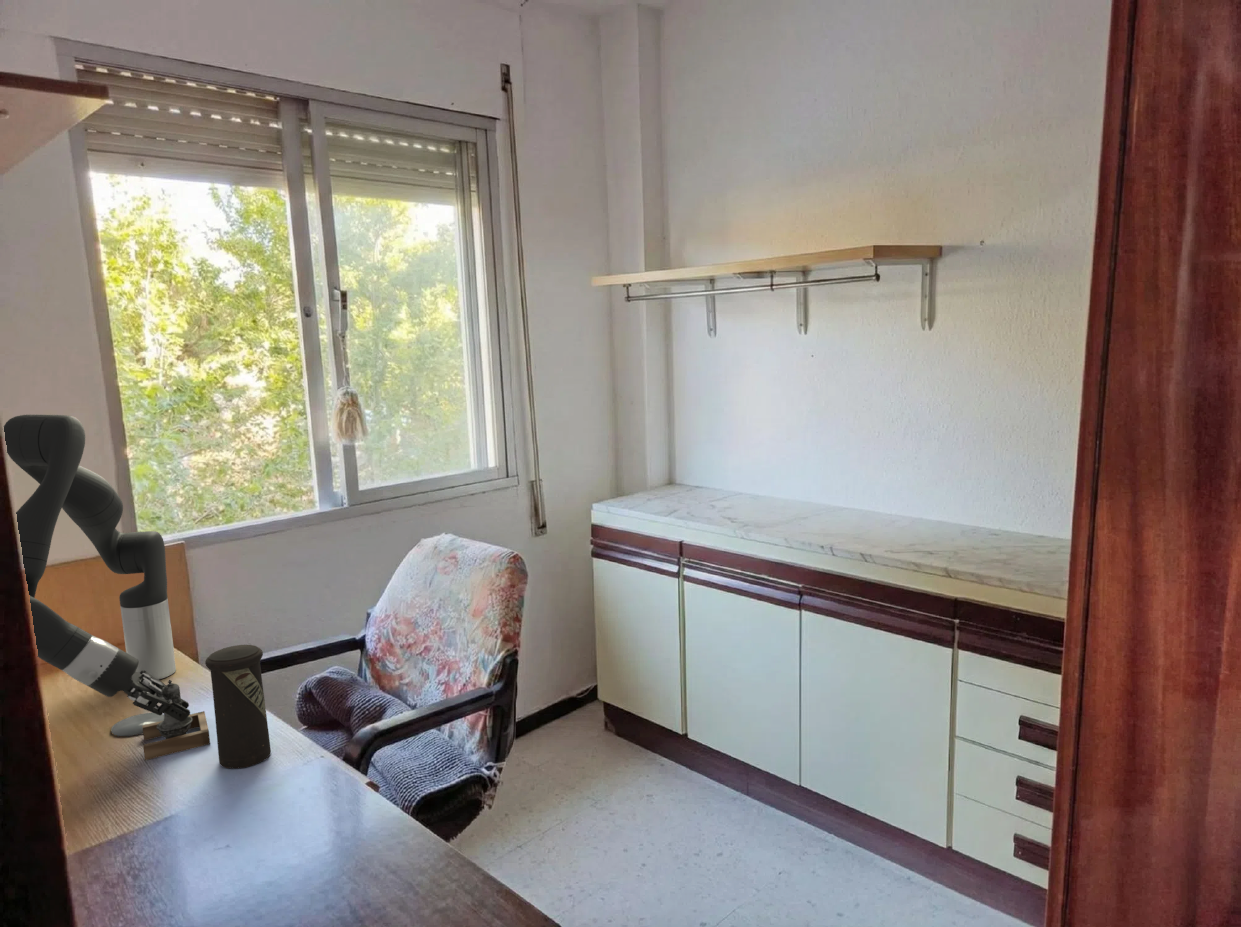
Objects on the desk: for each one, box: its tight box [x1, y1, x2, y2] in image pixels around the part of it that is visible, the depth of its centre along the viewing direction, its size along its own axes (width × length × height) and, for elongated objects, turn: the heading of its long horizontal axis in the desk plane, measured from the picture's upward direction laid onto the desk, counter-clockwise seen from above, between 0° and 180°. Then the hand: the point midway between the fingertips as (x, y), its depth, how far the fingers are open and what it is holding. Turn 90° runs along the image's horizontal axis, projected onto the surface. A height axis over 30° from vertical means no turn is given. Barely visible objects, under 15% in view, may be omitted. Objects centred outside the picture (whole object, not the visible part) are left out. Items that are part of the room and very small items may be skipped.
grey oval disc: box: [110, 712, 164, 737], centre depth 155 cm, size 9×9×1 cm
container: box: [204, 644, 272, 769], centre depth 139 cm, size 9×9×20 cm
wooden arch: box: [142, 710, 211, 761], centre depth 148 cm, size 10×10×2 cm
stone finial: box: [156, 679, 193, 739], centre depth 147 cm, size 6×6×12 cm
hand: (185, 712), depth 148 cm, fingers closed on stone finial, 3 cm apart
